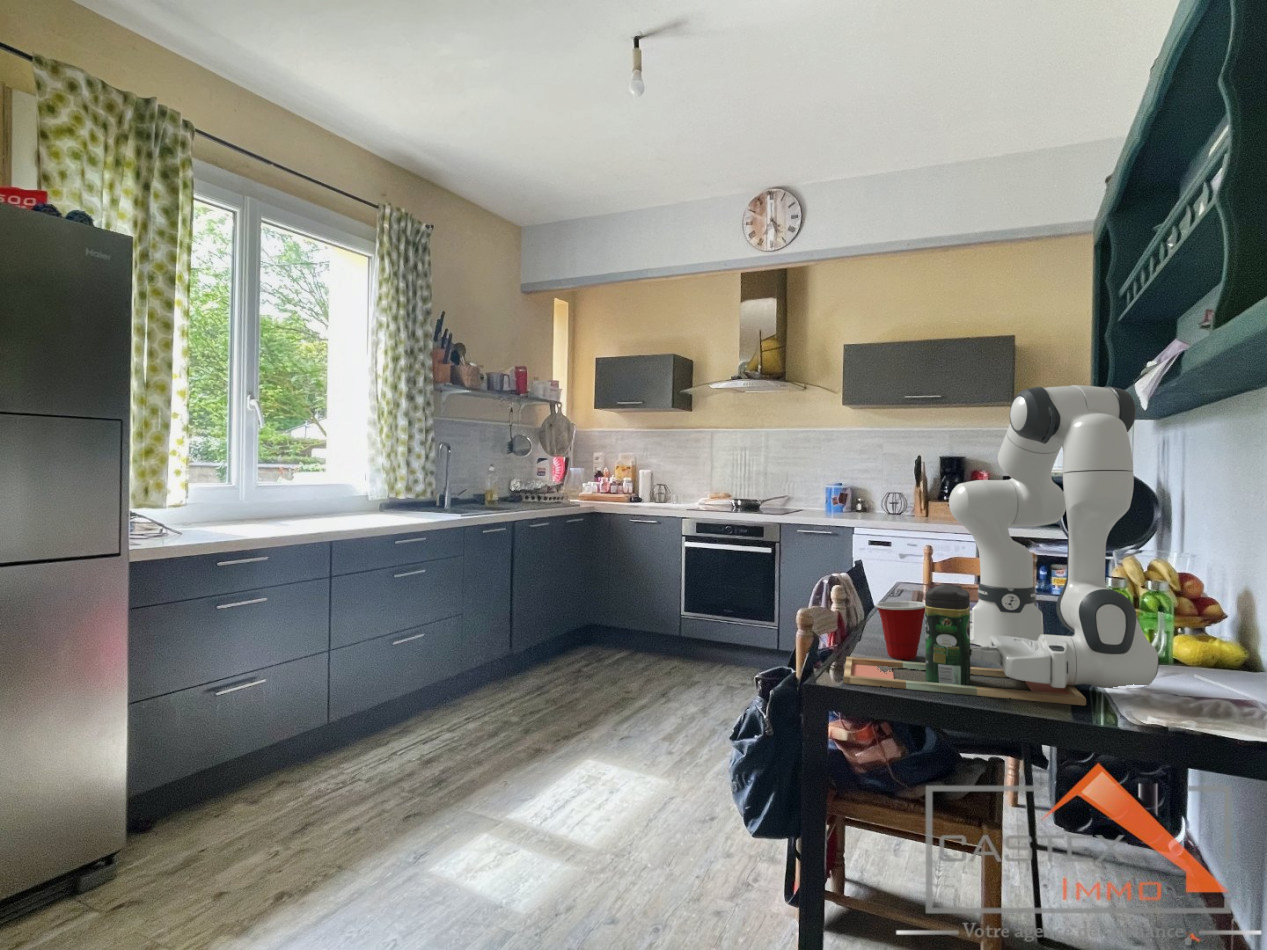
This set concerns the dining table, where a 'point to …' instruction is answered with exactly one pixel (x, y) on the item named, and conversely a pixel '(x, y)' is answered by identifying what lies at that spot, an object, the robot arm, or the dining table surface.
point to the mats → (874, 672)
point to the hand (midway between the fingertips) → (970, 652)
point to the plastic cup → (902, 627)
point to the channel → (1073, 698)
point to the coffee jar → (947, 635)
